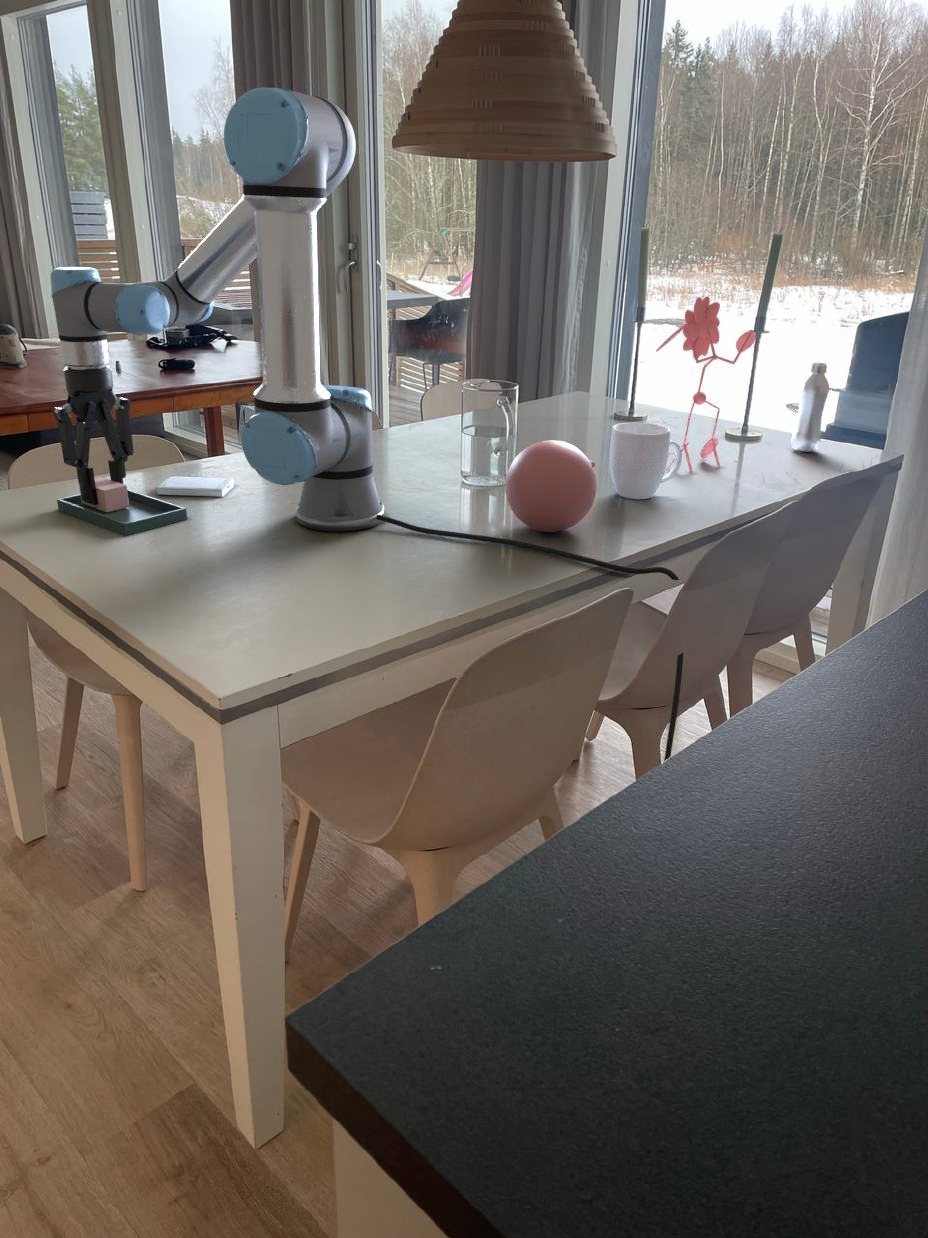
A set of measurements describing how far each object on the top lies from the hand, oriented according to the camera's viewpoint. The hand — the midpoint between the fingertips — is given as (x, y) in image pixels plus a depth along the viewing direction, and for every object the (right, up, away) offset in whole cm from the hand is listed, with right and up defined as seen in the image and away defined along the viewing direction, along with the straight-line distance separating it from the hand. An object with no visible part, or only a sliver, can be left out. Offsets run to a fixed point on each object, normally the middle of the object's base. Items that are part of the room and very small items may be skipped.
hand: (105, 499), depth 165 cm
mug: (+98, +3, +17) cm, 100 cm away
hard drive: (+13, +3, +13) cm, 18 cm away
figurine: (+112, +13, +39) cm, 119 cm away
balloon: (+80, -5, -3) cm, 80 cm away
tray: (+4, -3, -2) cm, 5 cm away
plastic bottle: (+144, +18, +53) cm, 154 cm away
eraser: (0, -1, +1) cm, 1 cm away
